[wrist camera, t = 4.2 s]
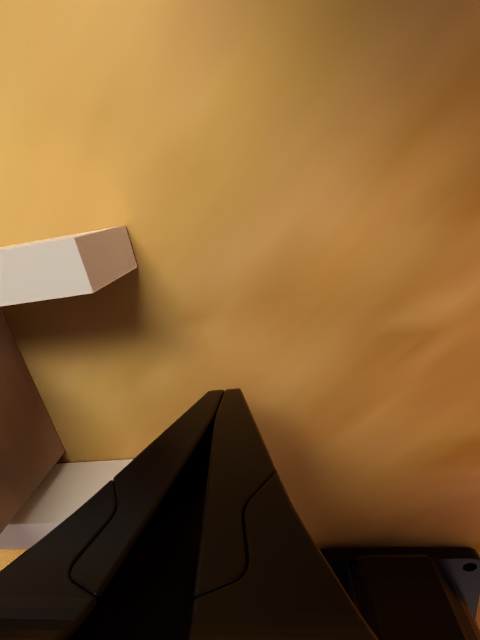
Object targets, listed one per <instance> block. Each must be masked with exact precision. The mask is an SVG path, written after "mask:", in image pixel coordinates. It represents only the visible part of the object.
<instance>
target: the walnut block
mask: <svg viewBox="0 0 480 640" xmlns="http://www.w3.org/2000/svg"><path fill="white" fill-rule="evenodd" d="M64 452H65V449H64V447H63V444H62V442H61V440H60V438H59V436H58V433H57V431H56V429H55V427H54V425H53V423H52V420H51V418H50V416H49V414H48V412H47V409H46V407H45V405H44V403H43V401H42V399H41V396H40V394H39V392H38V390H37V388H36V385H35V383H34V381H33V379H32V377H31V375H30V372H29V370H28V368H27V366H26V364H25V361H24V359H23V357H22V355H21V353H20V350H19V348H18V346H17V344H16V342H15V340H14V337H13V335H12V333H11V331H10V329H9V326H8V324H7V322H6V320H5V318H4V316H3V313H2V311H1V309H0V534H1V532H2V531H3V530H4V529H5V527H6V526H7V525H8V524H9V522H10V521H11V520H12V518H13V517H14V516H15V515H16V513H17V512H18V511H19V510H20V508H21V507H22V506H23V504H24V503H25V502H26V501H27V499H28V498H29V497H30V496H31V494H32V493H33V492H34V491H35V489H36V488H37V487H38V485H39V484H40V483H41V482H42V480H43V479H44V478H45V477H46V475H47V474H48V473H49V471H50V470H51V469H52V468H53V466H54V465H55V464H56V463H57V461H58V460H59V459H60V457H61V456H62V455H63V454H64Z"/></svg>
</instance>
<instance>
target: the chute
mask: <svg viewBox="0 0 480 640" xmlns="http://www.w3.org/2000/svg"><path fill="white" fill-rule="evenodd" d="M135 268H137V264H136V260H135V257H134V254H133V250H132V247H131V243H130V240H129V236H128V233H127V229H126V226H125V225H123V226H118V227H112V228H106V229H101V230H95V231H89V232H83V233H78V234H72V235H66V236H61V237H55V238H49V239H44V240H38V241H32V242H26V243H21V244H15V245H9V246H4V247H0V307H1V306H8V305H14V304H21V303H28V302H35V301H42V300H49V299H56V298H63V297H70V296H77V295H84V294H91V293H94V292H96V291H98V290H100V289H101V288H103V287H105V286H106V285H108V284H110V283H112V282H113V281H115V280H117V279H118V278H120V277H122V276H123V275H125V274H127V273H129V272H130V271H132V270H134V269H135ZM132 460H133V459H125V460H109V461H92V462H76V463H59V464H55V465H54V466H53V468H52V469H51V470H50V471H49V473H48V474H47V475H46V477H45V478H44V479H43V480H42V482H41V483H40V484H39V485H38V487H37V488H36V489H35V491H34V492H33V493H32V494H31V496H30V497H29V498H28V499H27V501H26V502H25V503H24V504H23V506H22V507H21V508H20V510H19V511H18V512H17V513H16V515H15V516H14V517H13V518H12V520H11V521H10V522H9V524H8V525H7V526H6V527H5V529H4V530H3V531H2V532H1V534H0V549H27V548H30V547H32V546H33V545H34V544H36V543H37V542H38V541H39V540H41V539H42V538H43V537H44V536H46V535H47V534H48V533H49V532H51V531H52V530H53V529H54V528H55V527H57V526H58V525H59V524H60V523H62V522H63V521H64V520H65V519H66V518H68V517H69V516H70V515H71V514H73V513H74V512H75V511H76V510H77V509H78V508H80V507H81V506H82V505H83V504H84V503H85V502H86V501H88V500H89V499H90V498H91V497H92V496H93V495H94V494H96V493H97V492H98V491H99V490H100V489H101V488H102V487H103V486H104V485H106V484H107V483H108V482H109V481H110V480H113V478H114V477H115V476H116V475H117V474H118V473H119V472H120V471H121V470H122V469H123V468H124V467H126V466H127V465H128V464H129V463H130V462H131V461H132Z"/></svg>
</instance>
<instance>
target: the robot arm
mask: <svg viewBox="0 0 480 640" xmlns="http://www.w3.org/2000/svg"><path fill="white" fill-rule="evenodd" d="M479 594H480V556H479V555H478V553H477V552H476V551H475V550H474V549H472V548H466V547H461V548H394V549H327V550H319V548H318V547H317V545H316V544H315V542H314V541H313V539H312V537H311V536H310V534H309V533H308V531H307V529H306V527H305V526H304V524H303V522H302V521H301V519H300V517H299V515H298V514H297V512H296V510H295V508H294V506H293V504H292V502H291V500H290V498H289V496H288V494H287V492H286V490H285V488H284V486H283V484H282V481H281V479H280V477H279V475H278V474H277V470H276V468H275V466H274V464H273V461H272V459H271V457H270V454H269V452H268V450H267V448H266V445H265V443H264V441H263V439H262V436H261V434H260V432H259V429H258V427H257V425H256V423H255V420H254V418H253V416H252V414H251V411H250V409H249V407H248V404H247V402H246V400H245V398H244V395H243V393H242V391H241V389H227V390H225V391H224V390H213V391H209V392H207V393H206V394H205V395H204V396H203V397H202V398H201V399H200V400H198V401H197V402H196V403H195V404H194V405H193V406H192V407H191V408H190V409H188V410H187V411H186V412H185V413H184V414H183V415H182V416H181V417H180V418H179V419H177V420H176V421H175V422H174V423H173V424H172V425H171V426H170V427H169V428H168V429H166V430H165V431H164V432H163V433H162V434H161V435H160V436H159V437H158V438H156V439H155V440H154V441H153V442H152V443H151V444H150V445H149V446H148V447H147V448H145V449H144V450H143V451H142V452H141V453H140V454H139V455H138V456H137V457H136V458H134V459H133V460H132V461H131V462H130V463H129V464H128V465H127V466H126V467H124V468H123V469H122V470H121V471H120V472H119V473H118V474H117V475H116V476H115V477H114V478H113V480H110V481H109V482H108V483H107V484H106V485H104V486H103V487H102V488H101V489H100V490H99V491H98V492H97V493H96V494H94V495H93V496H92V497H91V498H90V499H89V500H88V501H86V502H85V503H84V504H83V505H82V506H81V507H80V508H78V509H77V510H76V511H75V512H74V513H73V514H71V515H70V516H69V517H68V518H66V519H65V520H64V521H63V522H62V523H60V524H59V525H58V526H57V527H55V528H54V529H53V530H52V531H51V532H49V533H48V534H47V535H46V536H44V537H43V538H42V539H41V540H39V541H38V542H37V543H36V544H34V545H33V546H32V547H30V548H29V549H28V550H27V551H25V552H24V553H23V554H22V555H20V556H19V557H18V558H17V559H15V560H14V561H13V562H11V563H10V564H9V565H8V566H6V567H5V568H4V569H3V570H1V571H0V640H480V629H479V627H478V625H477V623H476V621H475V617H476V611H477V605H478V600H479Z"/></svg>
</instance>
